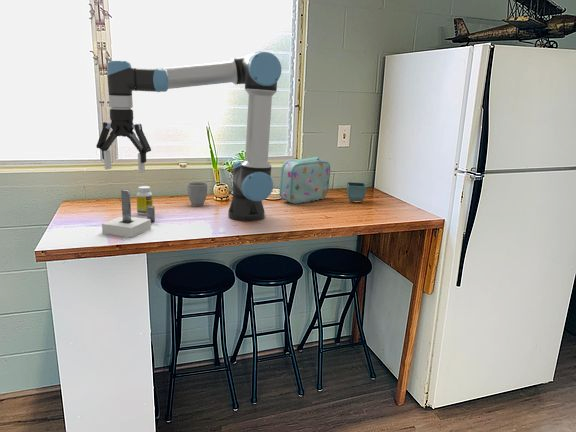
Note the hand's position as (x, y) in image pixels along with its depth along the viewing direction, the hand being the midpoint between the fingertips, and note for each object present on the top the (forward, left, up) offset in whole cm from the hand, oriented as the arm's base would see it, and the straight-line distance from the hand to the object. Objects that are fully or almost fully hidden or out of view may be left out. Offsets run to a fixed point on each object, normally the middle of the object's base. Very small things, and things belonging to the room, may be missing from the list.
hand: (124, 170), depth 165 cm
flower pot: (-71, -85, -22) cm, 113 cm away
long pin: (0, 0, -22) cm, 22 cm away
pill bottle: (+8, -24, -22) cm, 34 cm away
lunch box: (-47, -76, -22) cm, 92 cm away
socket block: (0, 0, -22) cm, 22 cm away
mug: (-3, -48, -22) cm, 53 cm away
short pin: (-1, -14, -22) cm, 26 cm away
